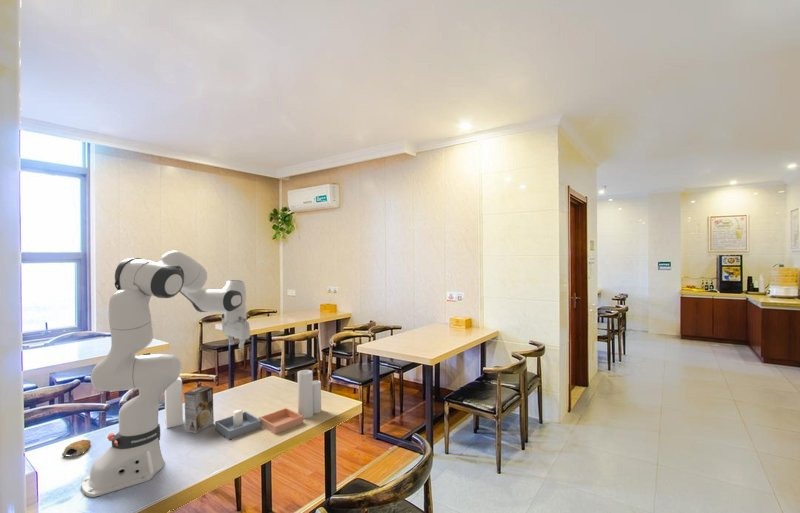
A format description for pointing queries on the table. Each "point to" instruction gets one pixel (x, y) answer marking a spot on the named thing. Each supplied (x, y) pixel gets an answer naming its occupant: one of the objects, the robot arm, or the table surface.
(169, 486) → the table surface
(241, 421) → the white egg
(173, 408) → the milk
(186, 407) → the coffee box
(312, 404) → the white double cylinder vase
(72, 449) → the pastry
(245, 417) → the grey-blue open tray
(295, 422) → the salmon open tray
